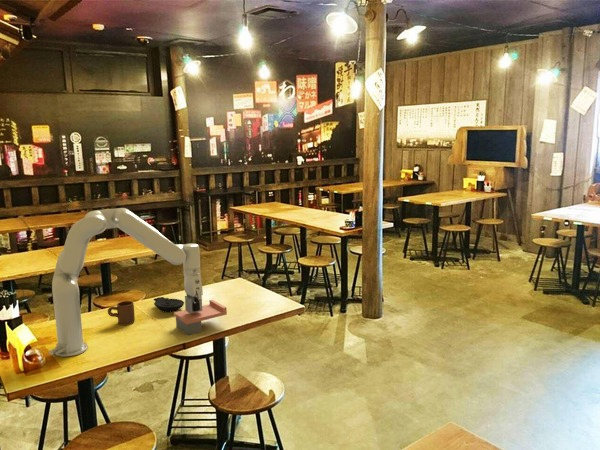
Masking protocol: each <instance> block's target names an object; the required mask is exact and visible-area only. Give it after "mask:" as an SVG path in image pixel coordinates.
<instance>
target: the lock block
mask: <svg viewBox="0 0 600 450" xmlns="http://www.w3.org/2000/svg"><path fill="white" fill-rule="evenodd" d="M195 296H197V295H195ZM196 298H197V297H195V299H196ZM184 305H185V306H184V307H185V309H184V310H186V311H187V312H188V313H190V314H191V313H195V312H200V311H202V306H203V295H202V296H201V299H200V310H199V311H195V312H194V311H193V297H192V296H190V295H188V296H187V295H184Z"/></svg>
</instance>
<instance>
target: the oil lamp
mask: <svg viewBox="0 0 600 450" xmlns="http://www.w3.org/2000/svg"><path fill="white" fill-rule="evenodd" d="M153 301H154V302H153V304H154V306H155V307H156V309H158V310H159V311H160V312H162V313H169V314H171V313H174V312H178V311H180V309H181V308H182V307H183V306H184V305H185V301H184V300H182V299H178V298H169V297H163V296H160V297H156V298H154V299H153Z"/></svg>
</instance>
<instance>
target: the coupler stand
mask: <svg viewBox="0 0 600 450" xmlns="http://www.w3.org/2000/svg"><path fill="white" fill-rule="evenodd" d="M227 309H228V308H227V306H224V305H223V304H221V303H219V301H216V300H214V299H210V300H209V304H205V305H202V311H200V312H195V313H191V314H190V313H188V312H187V311H186V310H185V309H182V310H177V311H175V312H173V316H174V317H175V326H176V328H177V329H178V330H179V331H181V332H182V333H183V334H185V335H186V336H190V335H194V334H197V333H201V332H202V331H203V330H202V321H206V320H210V319H214V318H219V317H223V316H226V315H228V314H227V313H228V312H227Z"/></svg>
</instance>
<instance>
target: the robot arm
mask: <svg viewBox="0 0 600 450" xmlns="http://www.w3.org/2000/svg"><path fill="white" fill-rule="evenodd" d="M116 228H118V229H119V230H120V231H122V232H124V233H125V234H127V235H129V237H131V238H133V239H134V240H135V241H137V242H139V243H140V244H142V245H143V246H144V247H146V248H147V249H149V250H150V251H152V252H154V253H155V254H157V255H158V256H159V257H161V258H163V259H164V260H166V261H167V262H168V263H170V264H172V265H174V266H179V265H183V276H184V278H183V279H184V281H183V283H184V292H185V296H188V295H190V296H192V297H193V311H194V312H195V311H199V310H200V299H201V296H202V297H203V293H204V292H203V282H202V277H201V276H202V275H201V256H200V255H201V252H200V246H199V244H197V243H185V244H175V243H173V242H172V241H171V240H169V239H168V238H167V237H165V236H164V235H163V234H162V233H161V232H159V230H158V229H156V228H155V227H154V226H152V225H151V224H149V223H148V222H146V221H145V220H143V219H142V218H141V217H139V216H138V215H137V214H135V213H133V212H132V211H130V210H129V209H128V208H125V207H117V208H108V209H97V210H95V209H94V210H91V211H89V212H87V213H86V214H85V215H84V217H83V218H80V219H78V221H77V222H75V223H74V224H73V225H72V226H71V227H70V228H69V231H68V233H67V236H66V239H65V243H64V245H63V249H62V250H61V251H60V253H59V254H58V257H57V260H56V264H55V269H54V272H53V276H52V281H51V282H52V283H51V287H52V289H51V291H52V301H53V307H54V309H53V310H54V316H55V327H56V337H57V343H56V344H55V347H54V348H53V349H50V350H49V351H48V353H49V355H50V356H53V355H55V356H57V357H62V358H63V357H64V358H66V357H74V356H78V355H80V354H82V353H84V352H86V351H87V350H88V348H89V347H88V346H89V345H88V344H87V342H84V337H83V336H84V335H83V326H82V324H83V323H82V314H81V313H82V312H81V304H80V303H81V301H80V288H79V284H78V280H79V276H80V272H81V271H82V270H83V267H84V265H85V258H86V255H87V252H88V251H87V250H88V246H89V243H90V240H92V238H93V237H95V236H96V235H101V234H102V233H104V231H106V230H108V229H116ZM195 295H197V296H195ZM195 297H197V298H196V299H195Z"/></svg>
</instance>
